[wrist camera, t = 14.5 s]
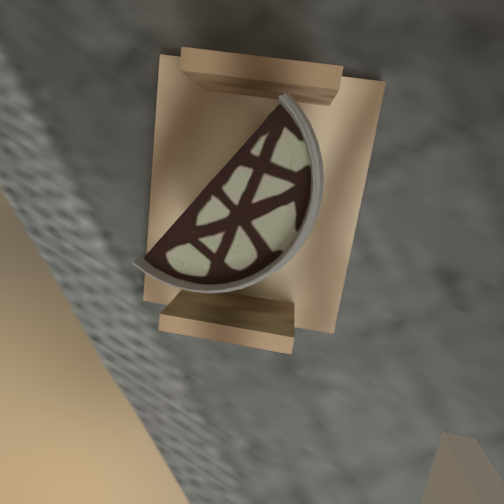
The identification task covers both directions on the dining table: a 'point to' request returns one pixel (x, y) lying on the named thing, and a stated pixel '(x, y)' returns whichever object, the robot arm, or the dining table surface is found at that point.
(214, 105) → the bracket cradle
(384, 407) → the dining table surface
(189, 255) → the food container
